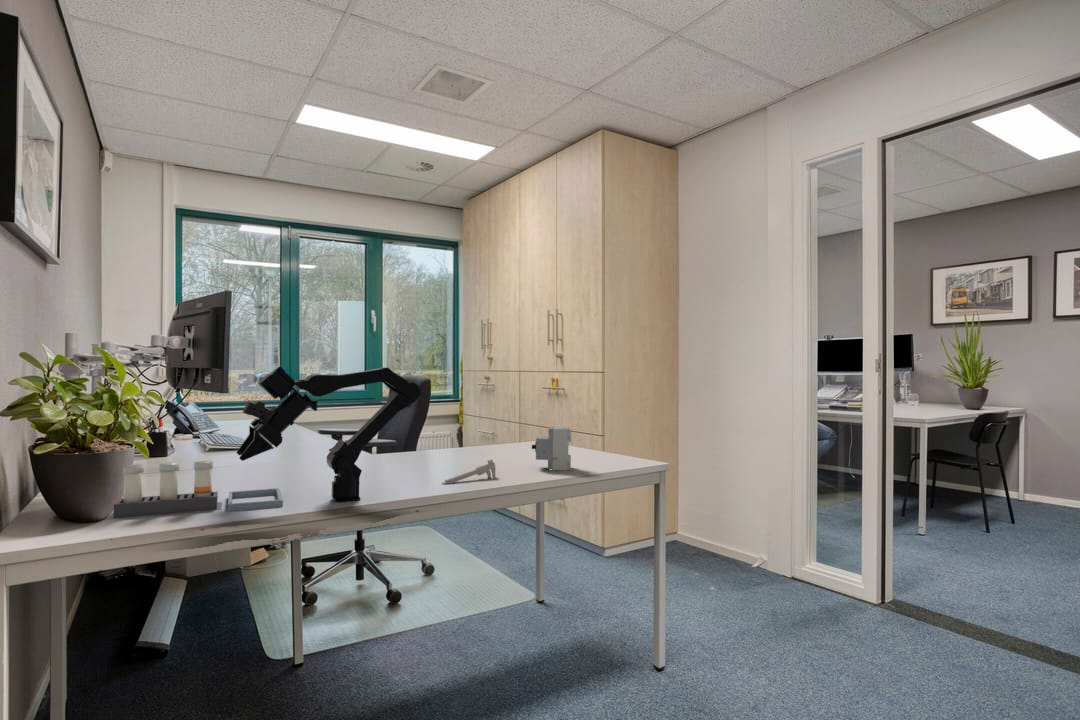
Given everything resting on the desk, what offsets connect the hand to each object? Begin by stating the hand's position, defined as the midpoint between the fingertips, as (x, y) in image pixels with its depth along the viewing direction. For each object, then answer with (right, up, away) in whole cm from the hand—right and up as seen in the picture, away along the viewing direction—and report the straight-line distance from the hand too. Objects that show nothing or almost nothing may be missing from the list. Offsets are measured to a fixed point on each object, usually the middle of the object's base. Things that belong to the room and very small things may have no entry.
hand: (239, 456), depth 144 cm
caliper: (+52, -15, +42) cm, 69 cm away
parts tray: (+3, -13, +2) cm, 14 cm away
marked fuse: (-7, -12, -4) cm, 14 cm away
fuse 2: (-13, -12, -7) cm, 19 cm away
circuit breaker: (+79, -16, +66) cm, 105 cm away
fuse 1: (-19, -11, -11) cm, 25 cm away
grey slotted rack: (-13, -13, -7) cm, 20 cm away
